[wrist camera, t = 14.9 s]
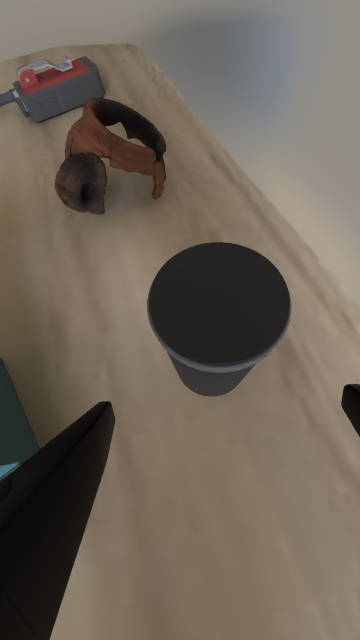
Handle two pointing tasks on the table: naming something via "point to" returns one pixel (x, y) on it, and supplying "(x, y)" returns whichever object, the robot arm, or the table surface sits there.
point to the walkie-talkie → (54, 87)
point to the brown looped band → (107, 154)
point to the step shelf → (13, 428)
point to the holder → (218, 313)
